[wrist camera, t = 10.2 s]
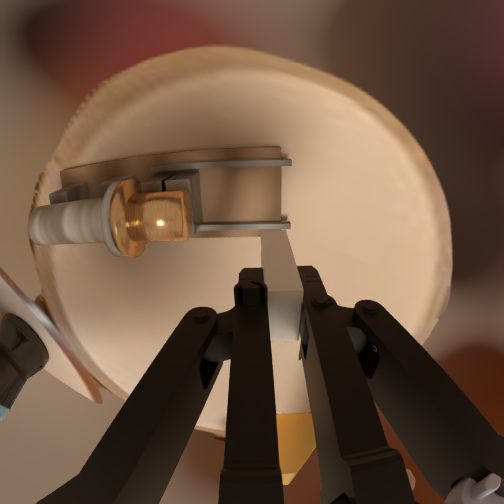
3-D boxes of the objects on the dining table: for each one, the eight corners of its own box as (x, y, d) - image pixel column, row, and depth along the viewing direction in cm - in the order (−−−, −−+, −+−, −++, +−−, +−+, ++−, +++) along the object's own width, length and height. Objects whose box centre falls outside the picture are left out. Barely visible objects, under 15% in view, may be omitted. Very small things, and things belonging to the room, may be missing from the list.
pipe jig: (78, 238, 34) (29, 279, 23) (65, 169, 29) (5, 194, 19) (288, 232, 33) (301, 285, 22) (289, 147, 28) (307, 159, 18)
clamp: (232, 430, 54) (228, 489, 40) (232, 412, 50) (226, 479, 36) (317, 430, 54) (324, 487, 40) (326, 411, 50) (336, 475, 36)
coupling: (156, 228, 31) (119, 271, 22) (148, 168, 28) (102, 190, 19) (203, 227, 31) (181, 271, 22) (198, 164, 28) (169, 183, 19)
